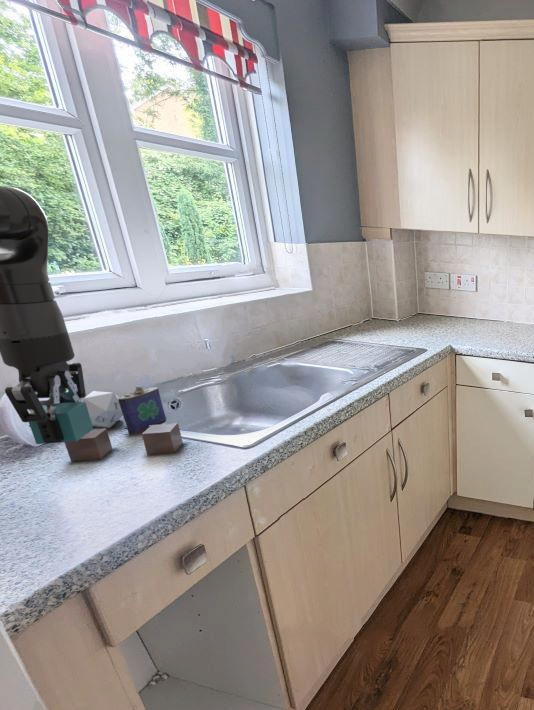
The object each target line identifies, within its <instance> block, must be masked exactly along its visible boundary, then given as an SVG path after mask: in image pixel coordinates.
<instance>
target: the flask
mask: <svg viewBox="0 0 534 710" xmlns="http://www.w3.org/2000/svg"><path fill="white" fill-rule="evenodd" d="M134 387H135V389H134V391H133V392H129V394H127V393H124V394H123V396H120V397H118V398H119V400H118V401H119V404H120V407H121V410H122V413H123V416H122V417H123V420H124V422H125V425H126V429H127V432H128V435H131V436H132V435H138V434H142V433H143V432H144V431H146V430H147V429H148V428H149V427H150V426H149V425H158V424H165V423H166V422H167V417H166V412H165V409H164V406H163V402H162V397H161V394H160V389H159V388H158V387H157V386H156V387H155V386H154V387H148V388H146V389H144V388H145V386H144V385H143V386H141V385H134Z"/></svg>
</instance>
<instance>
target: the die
mask: <svg viewBox="0 0 534 710" xmlns="http://www.w3.org/2000/svg"><path fill="white" fill-rule="evenodd" d="M119 398H120V397H119V396H118V395H117V394H115V393H114V392H111V391H109V392H108V391H97V390H93V391H91V392H90V393H88V394H86V397H85V398H81V399H80V400H81V402H85V403H86V406H87V409H88V413H89V416H90V419H91V422H92V426H93V427H96V428H106V429H107V428H108V429H110V428H112V427H113V426H114V425H115V424H116V423H117V422H118V421H119V420H120V419H122V417H124V416H123V413H122V410H121V407H120V404H119V401H118V400H119Z"/></svg>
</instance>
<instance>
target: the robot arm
mask: <svg viewBox="0 0 534 710" xmlns="http://www.w3.org/2000/svg"><path fill="white" fill-rule="evenodd" d="M49 233H50V230H49V222H48V218H47V216H46V213H45V211H44V210H43V208H42V207H41V206H40V204H39V203H38V202H37V201H36V199H35V198H33V196H31V195H30V194H29V193H28V192H25V191H23V190H22V189H20V188H16V187H12V186H6V185H0V356H1V360H2V362H3V364H4V365H6V366H8V367H12V368H14V369H16V370H17V373H18V382H19V383H18V384H16V385H15V386H6V387H5V389H4V393H5V395H6V397H7V399H8V400H9V402H10V403H11V405H12V407H13V408H14V410H15V412H16V414H17V415H18V418H20V420H21V422H22V423H29V422H36V423H37V424H38V427H39V430H40V433H41V435H42V439H43V441H44V442H45V443H47V444H59V443H58V442H61V441H62V440H64V437H63V434H62V431H61V428H60V425H59V422H58V419H56V418H57V415H56V406H57V405H58V404H59V403H68V402H81V400H82V399H83V398H85V397H86V396H87V392H86V388H85V387H86V386H85V380H84V374H83V373H84V372H83V367H82V364H81V362H70V361H71V360H73V359H74V358H75V352H74V349H73V344H72V341H71V338H70V334H69V332H68V328H67V325H66V322H65V319H64V316H63V313H62V311H61V308H60V307H59V305H58V303H57V299H56V297H55V293H54V290H53V286H52V283H51V280H50V277H49V274H48V263H49V239H50V238H49V237H50V234H49ZM40 399H45V400H40ZM43 405H45V406H47V413H46V412H45V410H44V408H43ZM28 410H29V411H30V412H29V411H28ZM29 413H30V414H29Z"/></svg>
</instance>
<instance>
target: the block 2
mask: <svg viewBox="0 0 534 710" xmlns="http://www.w3.org/2000/svg"><path fill="white" fill-rule="evenodd" d="M141 438H142V441H143V444H144V449H145V452H146V455H147V456H150V455H162V454H172V453H173V454H174V453H176V452H177V451H178V449H179V448H180V447H181V446H182V445H183V442H184V441H183V437H182V433H181V429H180V424H179V422H173V423H162V424H158V425H151V426H150V427H149V428H148V429H147V430H146V431H144V432H142V433H141Z"/></svg>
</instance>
